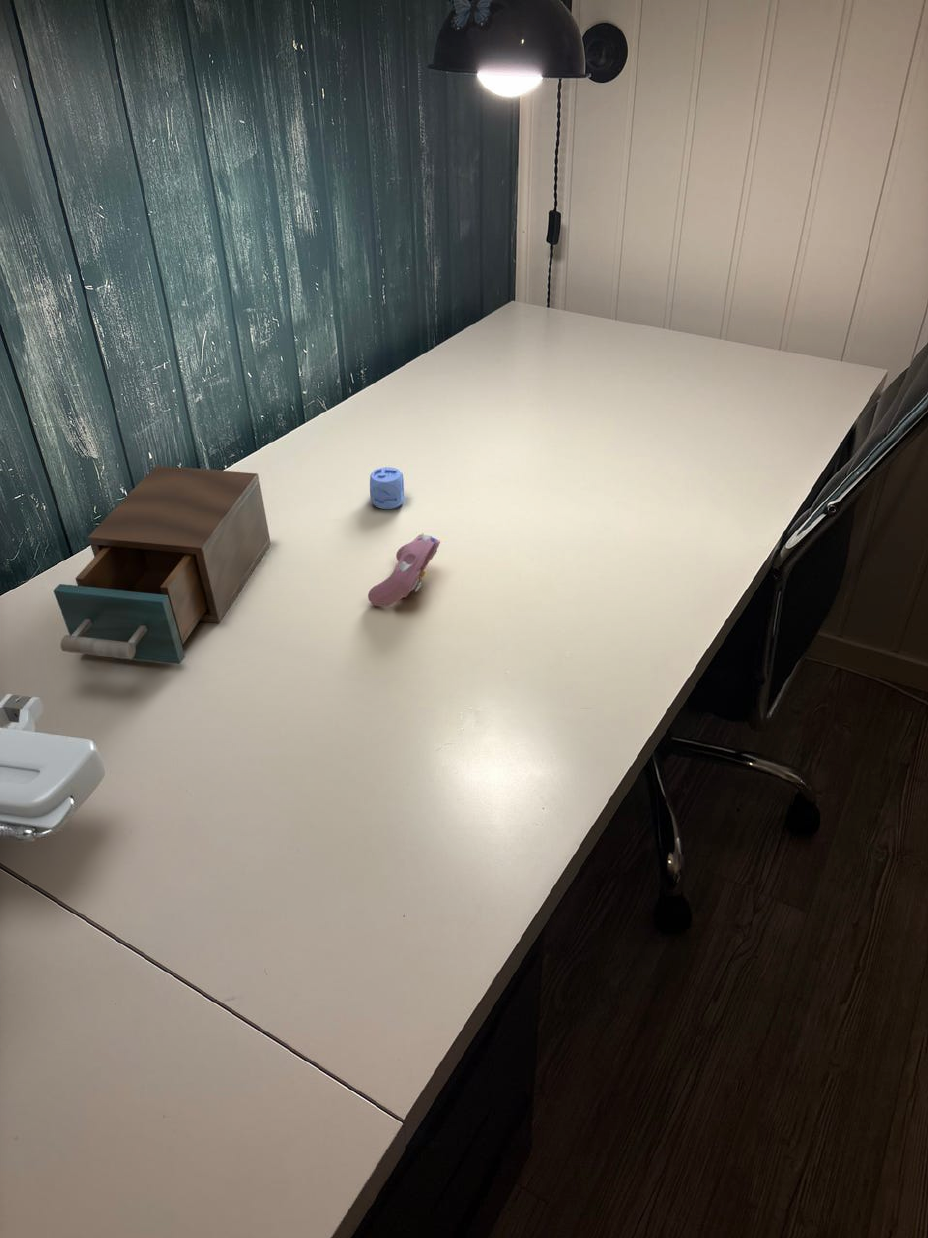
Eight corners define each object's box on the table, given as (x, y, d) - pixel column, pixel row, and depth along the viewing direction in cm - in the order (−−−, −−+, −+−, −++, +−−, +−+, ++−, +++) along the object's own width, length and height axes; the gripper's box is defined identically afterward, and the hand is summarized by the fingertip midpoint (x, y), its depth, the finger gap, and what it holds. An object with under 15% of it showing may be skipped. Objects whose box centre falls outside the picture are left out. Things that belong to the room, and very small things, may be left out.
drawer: (160, 693, 89) (141, 630, 85) (52, 680, 91) (28, 617, 86) (235, 581, 104) (222, 522, 99) (141, 572, 106) (124, 513, 101)
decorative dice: (402, 509, 118) (400, 481, 115) (371, 509, 118) (368, 482, 115) (404, 493, 121) (402, 466, 118) (374, 493, 121) (371, 466, 118)
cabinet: (219, 623, 100) (201, 547, 94) (111, 611, 102) (87, 537, 96) (271, 544, 112) (258, 473, 106) (173, 535, 114) (155, 465, 108)
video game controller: (398, 624, 101) (421, 582, 97) (362, 602, 101) (384, 560, 96) (429, 574, 109) (452, 534, 104) (396, 554, 108) (418, 513, 104)
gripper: (35, 816, 65) (128, 687, 76) (-211, 779, 69) (-90, 661, 79) (61, 871, 69) (146, 741, 80) (-173, 833, 72) (-62, 714, 83)
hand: (27, 701), depth 80 cm, fingers closed
